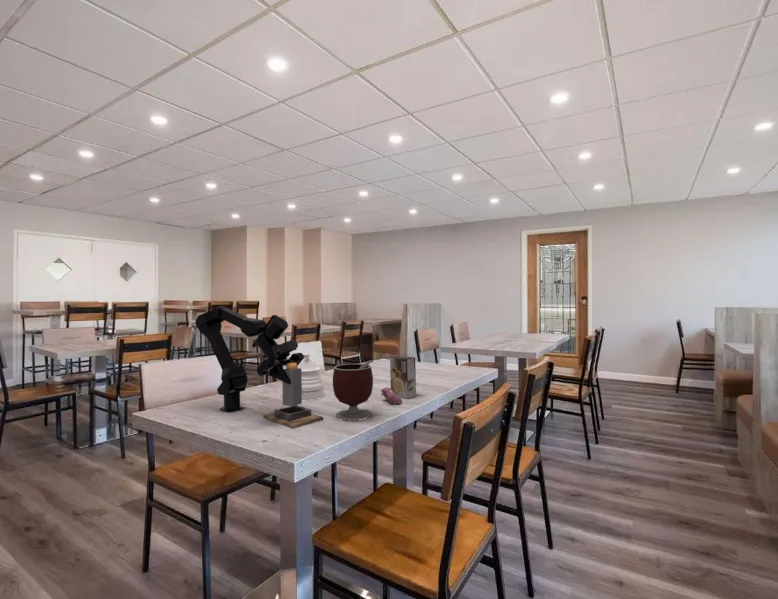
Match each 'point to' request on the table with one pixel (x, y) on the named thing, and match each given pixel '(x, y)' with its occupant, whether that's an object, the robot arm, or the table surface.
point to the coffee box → (403, 376)
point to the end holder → (293, 416)
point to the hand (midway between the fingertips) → (295, 382)
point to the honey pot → (311, 379)
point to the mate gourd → (353, 388)
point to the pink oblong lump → (390, 396)
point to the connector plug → (292, 386)
